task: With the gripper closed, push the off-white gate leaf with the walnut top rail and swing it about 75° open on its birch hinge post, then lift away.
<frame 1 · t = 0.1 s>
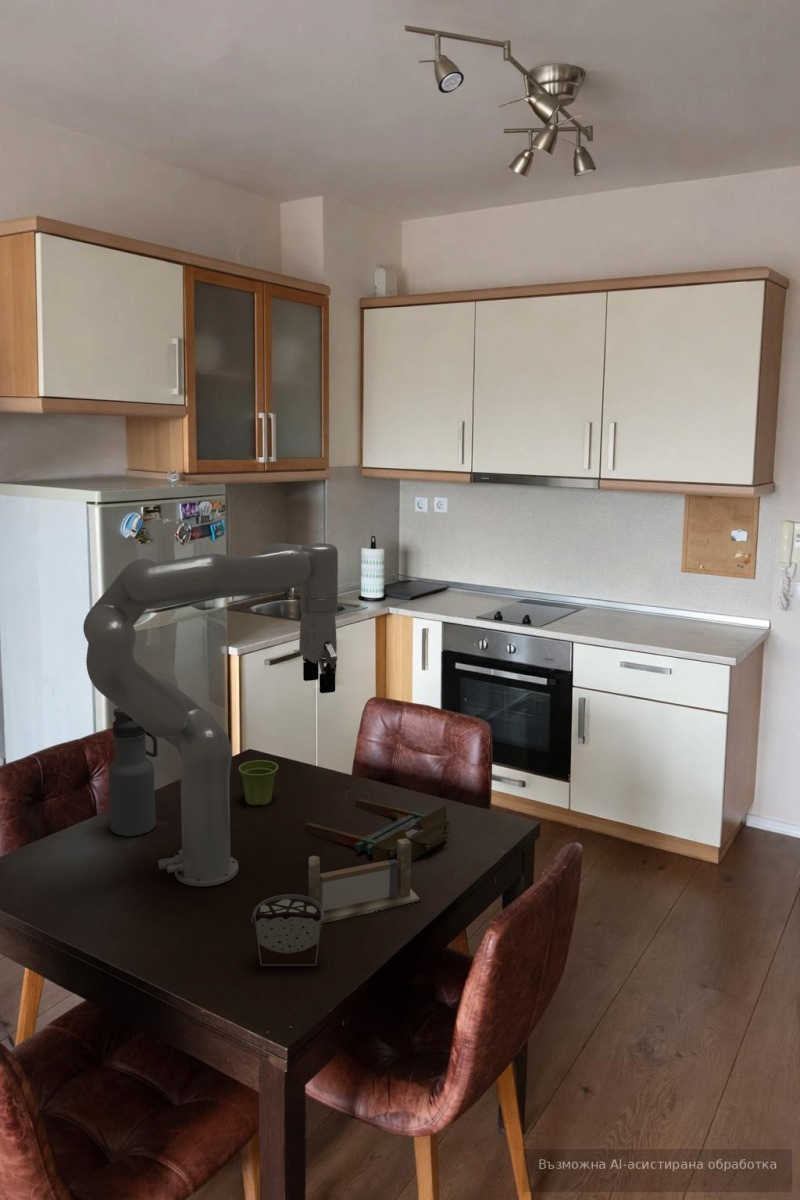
hand: (318, 686, 190), 37 cm above the table, tool pointing down, fingers open, 9 cm apart
food container: (289, 956, 158), on the table
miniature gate: (383, 838, 205), on the table
water bottle: (134, 828, 207), on the table
plant pot: (258, 801, 223), on the table
gate leaf: (358, 884, 173), point 5 cm above the table, hinge at 0.0°
gate frame: (314, 917, 170), on the table
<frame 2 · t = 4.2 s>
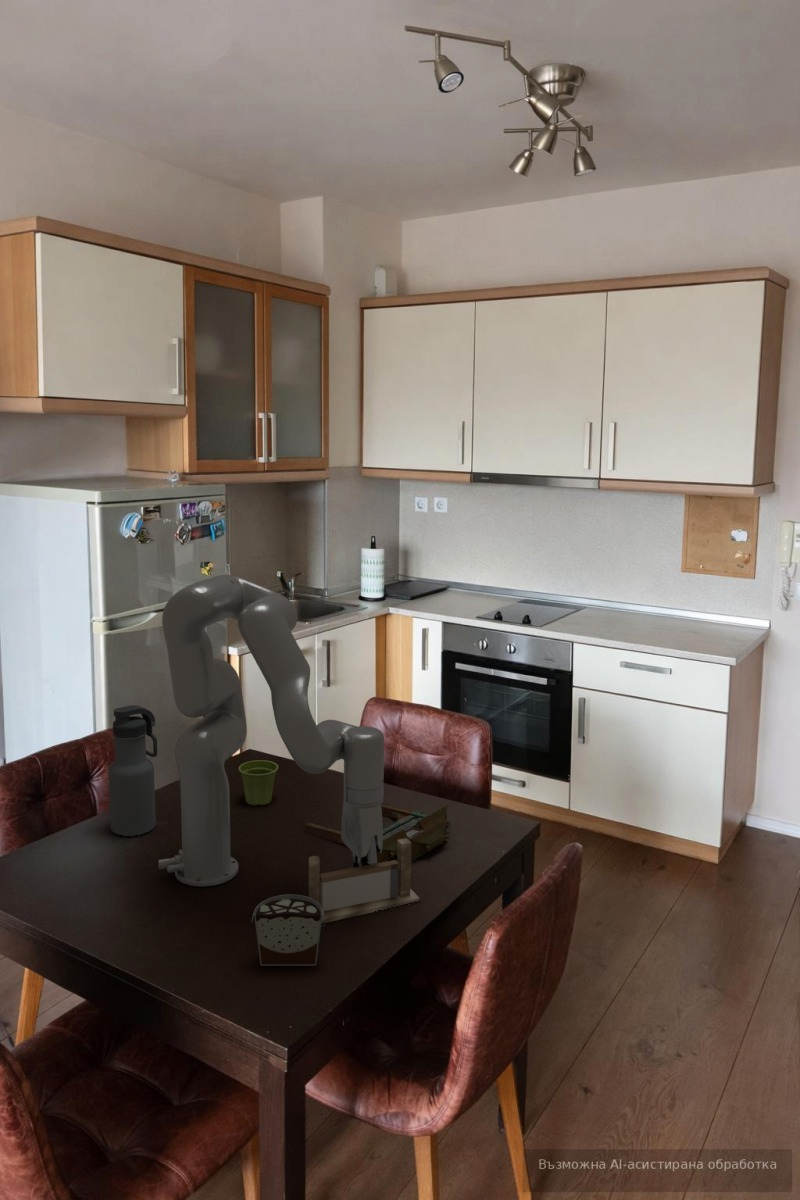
hand: (362, 882, 177), 3 cm above the table, tool pointing down, fingers closed
gate leaf: (359, 885, 173), point 5 cm above the table, hinge at 1.5°, touching gripper
everything else where it was.
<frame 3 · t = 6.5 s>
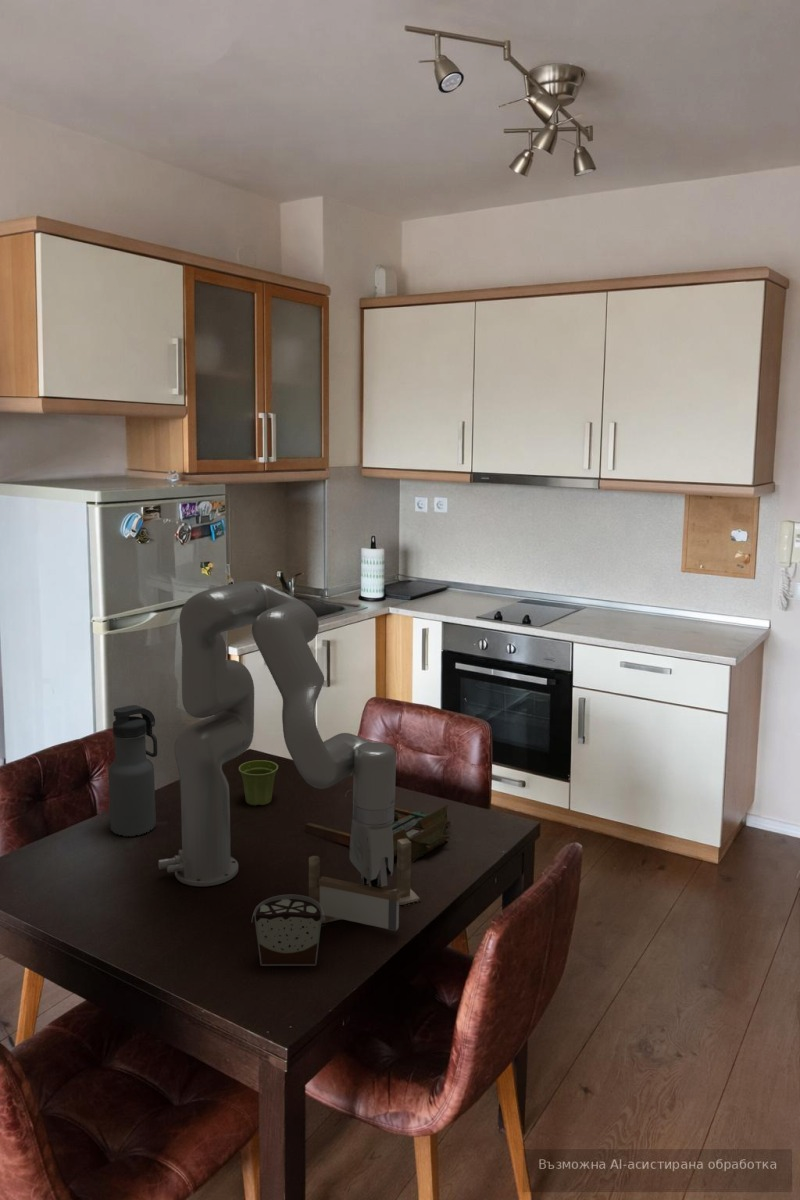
hand: (371, 904, 170), 3 cm above the table, tool pointing down, fingers closed
gate leaf: (358, 903, 166), point 5 cm above the table, hinge at 45.5°, touching gripper
everything else where it was.
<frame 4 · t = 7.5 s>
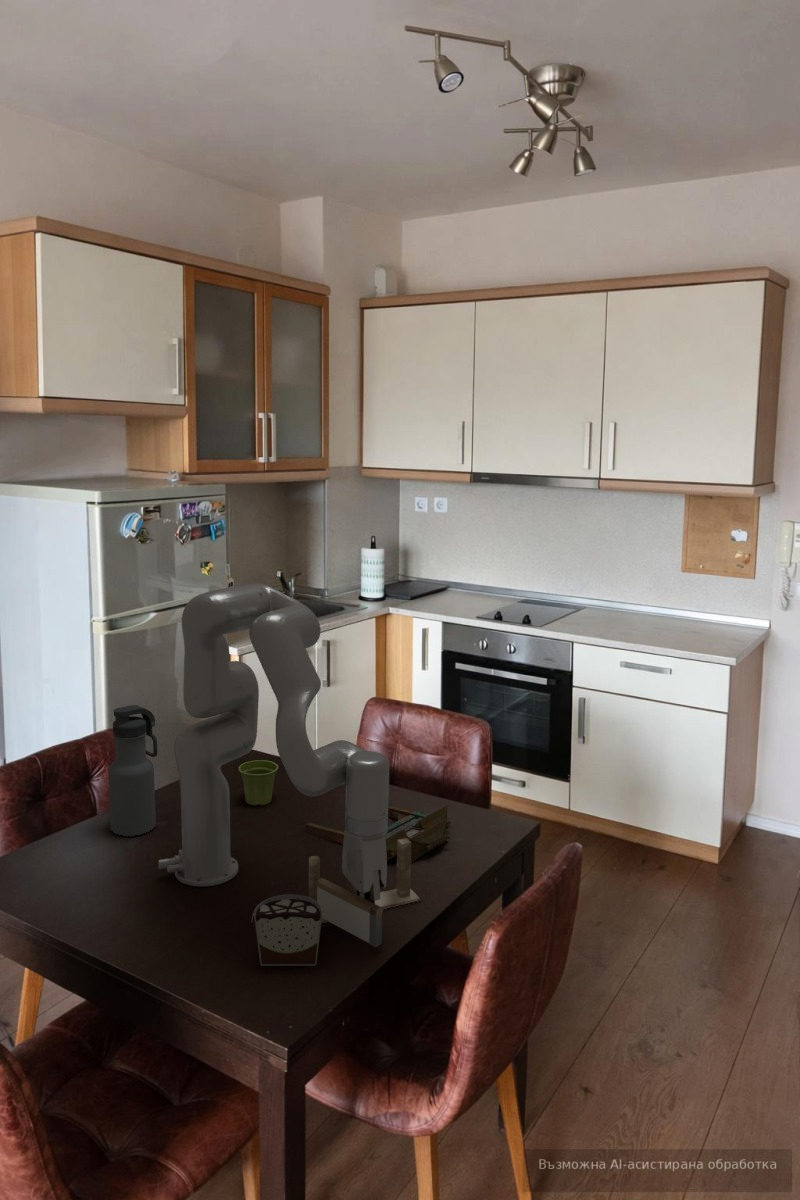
hand: (364, 917, 165), 3 cm above the table, tool pointing down, fingers closed
gate leaf: (348, 911, 164), point 5 cm above the table, hinge at 67.5°, touching gripper
everything else where it was.
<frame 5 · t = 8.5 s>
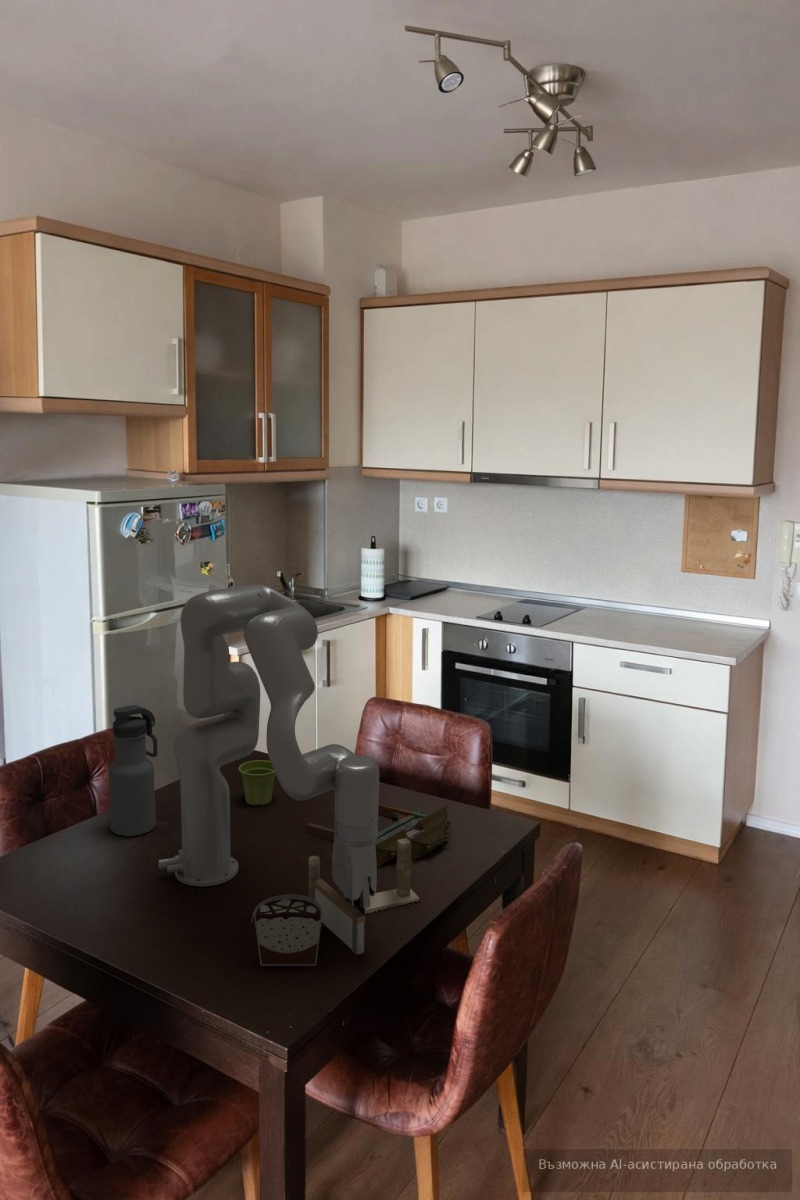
hand: (354, 925, 163), 3 cm above the table, tool pointing down, fingers closed
gate leaf: (338, 915, 162), point 5 cm above the table, hinge at 81.3°, touching gripper
everything else where it was.
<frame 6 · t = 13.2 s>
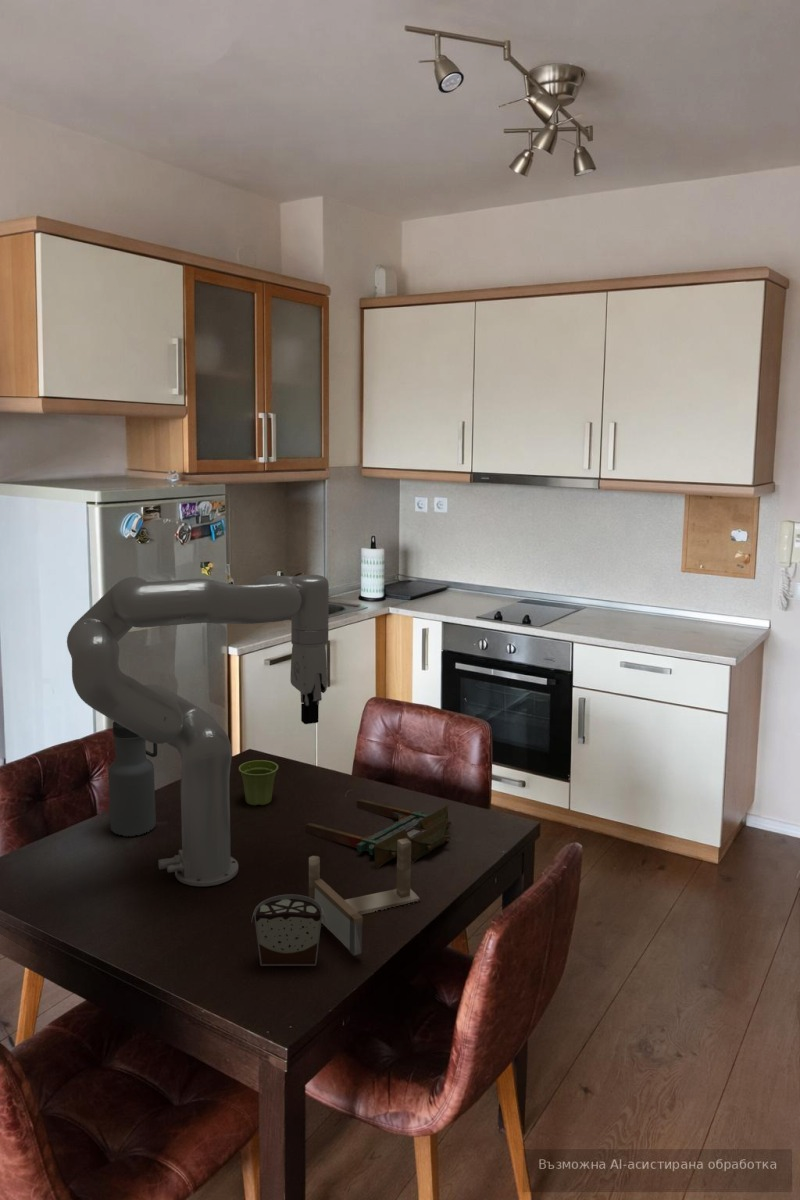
hand: (309, 722, 191), 29 cm above the table, tool pointing down, fingers closed
gate leaf: (337, 916, 162), point 5 cm above the table, hinge at 83.2°
everything else where it was.
at the end: gate leaf at +83° (first picture: +0°) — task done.
